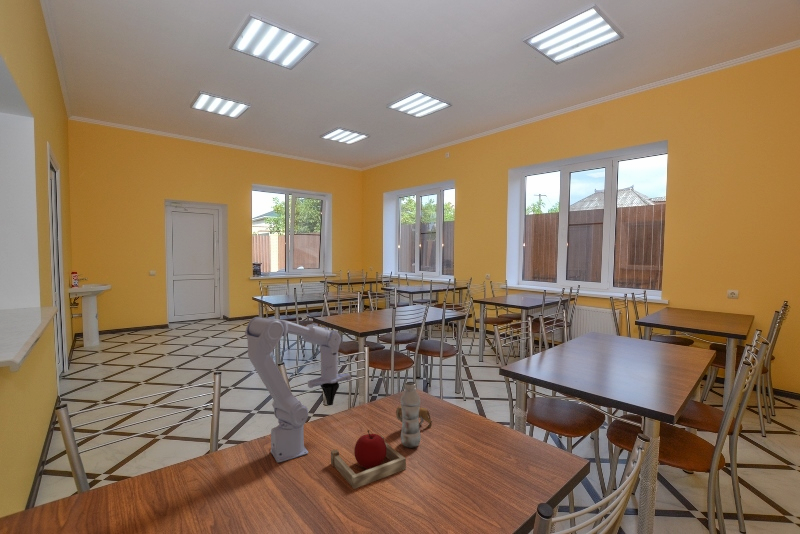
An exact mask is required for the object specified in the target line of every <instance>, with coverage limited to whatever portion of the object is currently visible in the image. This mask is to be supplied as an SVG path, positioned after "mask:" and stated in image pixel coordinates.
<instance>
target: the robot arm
mask: <svg viewBox="0 0 800 534" xmlns="http://www.w3.org/2000/svg"><path fill="white" fill-rule="evenodd" d="M244 334H245V336H246V338H247V340H246V341H247V354H248V359H249V361H250V362H251V364H252V365H253V368H254V369H255V372H256V373H257V374H258V376H259V378H260V379H261V381H262V383H263V385H264V386H265V389H266V390H267V391H268V393H269V395H270V396H271V398H272V400H273V401H272V404H271V405H272V407H273V414H274V417H275V419H277V423H278V425H277V426H274V427H273V428H271V431H270V454H271V455H272V456H273V457H274V459H275V462H276V463H282V462H285V461H289V460H292V459H296V458H298V457H302V456H304V455H307V454H309V451H308V450H307V448H306V447H305V441H304V440H305V435H304V434H305V433H304V432H305V431H304V430H305V428H304V426H305V423H306V422H307V421H308V417H309V408H308V407H307V406H306V405H304V404H302V402H301V400H299V399H298V398H297V397H296V396H295V395H294V394H293V393H292V391H291V389H290V388H289V386H288V383H287V381H286V380H285V378H284V377H283V375H282V373H281V372H280V370H279V368H278V366H277V364H276V362H275V361H274V359H273V356H272V355H271V353H272V352H273V351H274V349H276V346H277V345H278V343H279V342H280V340H281V339H282V337H286V336H287V334H291V335H295V336H299V337H301V338H302V340H303V341H304V342H306V343H309V344H314V345H318V346H320V376H319V377H316V378H313V379H311V380H307V387H308V389H313V388H314V387H318V386H320V387H321V390H322V392H323V394H324V397H325V402H326V405H328V406H333V405H334V400H335V396H336V394H337V392H338V390H339V388H340V384H339V382H344V381H351V374H350V373H339V372H338V371H339V364H338V363H339V359H338V358H339V356H338V355H339V354H338V352H339V351H340V344H341V342H342V337H341V335H340V333H339V332H338V331H337V330H331V329H329V327H326V326H324V327H322V326H319V324H318V323H315V322H312V323H311V324H306V326H304V325H301V324H298V323H295V322H293V321H289V320H285V319H278V318H271V317H265V318H264V317H262V316H255V317H252V319H250V320H249V322H248V324H247V326H246V328H245V331H244Z"/></svg>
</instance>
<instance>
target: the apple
mask: <svg viewBox="0 0 800 534" xmlns="http://www.w3.org/2000/svg"><path fill="white" fill-rule="evenodd" d="M367 433H368V434H363V435H361V436H360V437H358V439H357V440H356V442H355V445H354V450H353V451H354V453H353V454H354V458H355V460H356V463H357V464H358V465H359V466H360V467H362V468H364V469H365V470H368V469H371V468H374V467H377V466H379V465H382V464H384V462H385V459H386V458H387V457H386V452H387V449H386V444H385V442H386V441H385V438H384V439H383V438H382V437H381V436H382V435H381V436H380V434H377V433H370V430H368V429H367Z"/></svg>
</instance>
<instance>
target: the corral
mask: <svg viewBox="0 0 800 534" xmlns="http://www.w3.org/2000/svg"><path fill="white" fill-rule="evenodd" d="M379 436H381V437H382V438H383V439H384V440H385V437H384V436H382V434H381V435H380V434H379ZM385 444H386V449H387V452H386V457H385V458H388V460H390V461H388V462H386V463H382V464H381V465H379V466H377V467H374V468H371V469H365V470H363V471H361V472H360V471H359V472H358V473H355V472H354V470H353V469H351V467H350V466H349V465H348V464H347V463H346V462H345V461H344V460H343V458H342V457H341V456H340V452H339V450H338V449H333V450H331V451H330V465H331V466H332V467H333V468H335V469H336V470H337V472H339V474H340V475H341V476H342V477H343V478H344V479H345V480H346V482H347V483H348V484H349V486H350V487H352V489H353V490H355V489H358V488H360V487H363V486H365V485H369V484H372V483H373V482H376V481H378V480H380V479H384V478H386V477H389V476H391V475H393V474H397V473H399V472H401V471H403V470H406V469H407V459H406V457H405V456H403V454H401V453H399V452H398V451H397V450H396V449H394V448H393V447H392V446H391V445H390V444H388V443H387V442H386V441H385Z"/></svg>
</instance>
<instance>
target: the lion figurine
mask: <svg viewBox="0 0 800 534" xmlns="http://www.w3.org/2000/svg"><path fill="white" fill-rule="evenodd" d="M395 415H396V419H397V420H398V421H400V423H402V408H401V405H399V406H397V408H396V410H395ZM419 419H420V421H419V426H422V424H423V423H424V422H427V423H428V425H427V428H431V427H432V423H433V421H432V420H431V414H430V411H429V410H428V409H427V408H426V407H420V408H419Z"/></svg>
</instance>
